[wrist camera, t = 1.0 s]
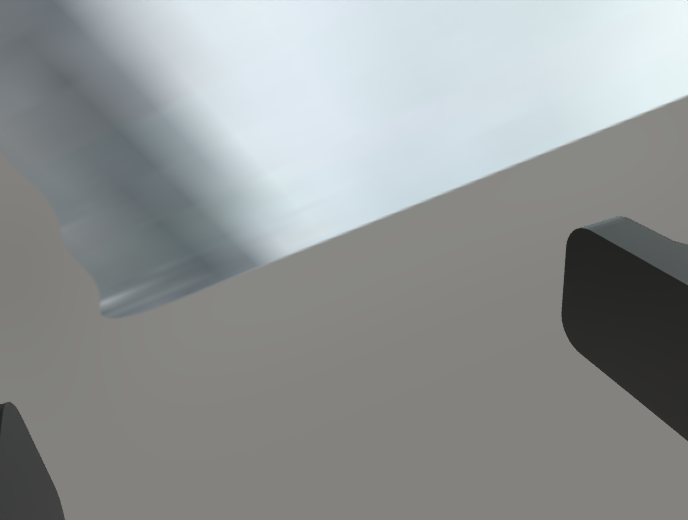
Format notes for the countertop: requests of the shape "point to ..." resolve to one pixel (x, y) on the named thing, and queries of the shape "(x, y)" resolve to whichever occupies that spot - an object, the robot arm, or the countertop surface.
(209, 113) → the countertop surface
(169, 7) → the countertop surface
